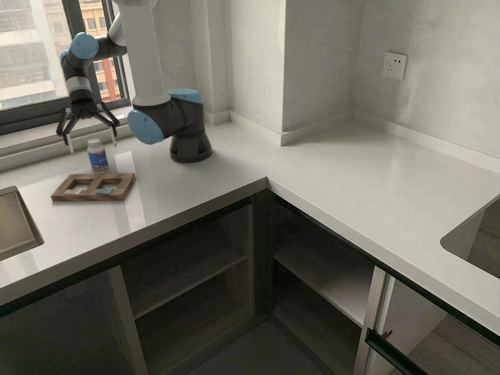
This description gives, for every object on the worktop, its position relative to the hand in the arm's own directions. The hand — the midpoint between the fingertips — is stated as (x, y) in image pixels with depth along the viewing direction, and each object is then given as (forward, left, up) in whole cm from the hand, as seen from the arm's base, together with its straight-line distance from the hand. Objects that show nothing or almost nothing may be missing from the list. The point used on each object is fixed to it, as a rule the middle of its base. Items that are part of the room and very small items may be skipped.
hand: (94, 149), depth 123 cm
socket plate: (-5, +15, -6) cm, 17 cm away
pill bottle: (-1, 0, -7) cm, 7 cm away
